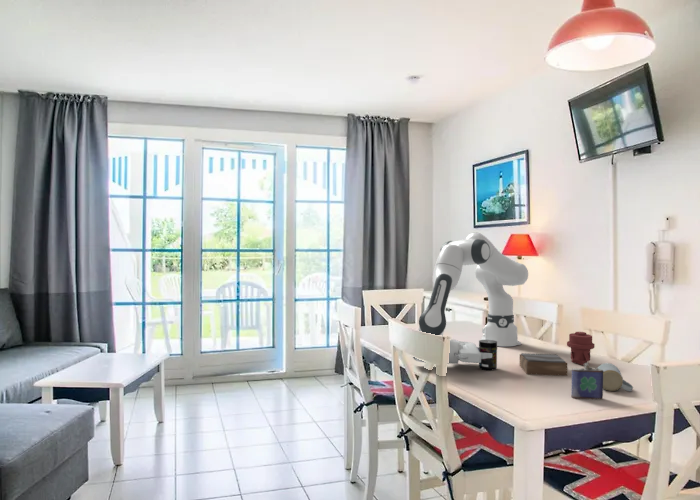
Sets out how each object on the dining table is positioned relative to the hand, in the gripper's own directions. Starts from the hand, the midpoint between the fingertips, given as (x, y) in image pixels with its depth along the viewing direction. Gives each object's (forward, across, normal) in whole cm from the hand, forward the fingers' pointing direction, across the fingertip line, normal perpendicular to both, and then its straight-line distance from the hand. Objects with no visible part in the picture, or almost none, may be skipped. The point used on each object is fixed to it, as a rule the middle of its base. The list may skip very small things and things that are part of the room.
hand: (490, 352), depth 191 cm
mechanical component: (+37, +14, +6) cm, 40 cm away
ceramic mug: (+36, -22, +6) cm, 43 cm away
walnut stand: (+19, 0, +6) cm, 20 cm away
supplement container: (-1, 0, +6) cm, 6 cm away
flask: (+24, -33, +6) cm, 41 cm away
